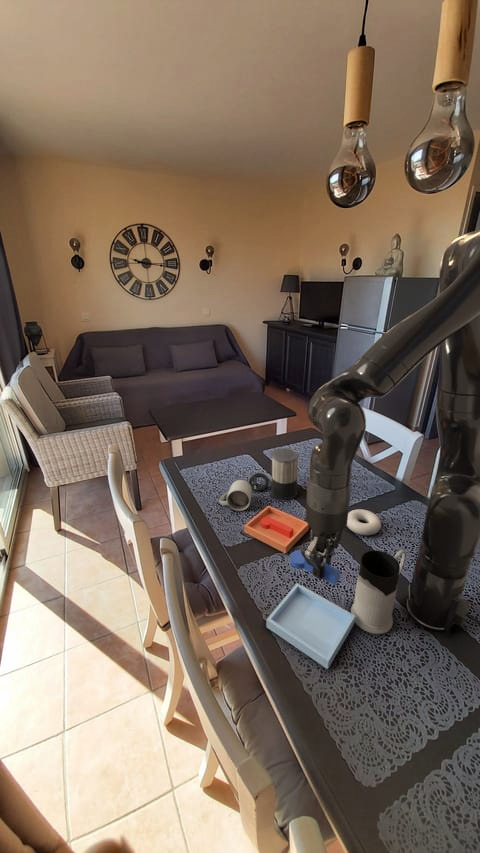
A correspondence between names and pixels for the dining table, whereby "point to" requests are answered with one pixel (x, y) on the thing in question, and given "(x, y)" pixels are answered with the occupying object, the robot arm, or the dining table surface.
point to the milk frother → (280, 474)
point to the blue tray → (311, 624)
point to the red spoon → (276, 526)
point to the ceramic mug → (238, 496)
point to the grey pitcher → (376, 590)
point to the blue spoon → (299, 562)
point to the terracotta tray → (272, 536)
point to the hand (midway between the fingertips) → (321, 572)
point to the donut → (363, 528)
